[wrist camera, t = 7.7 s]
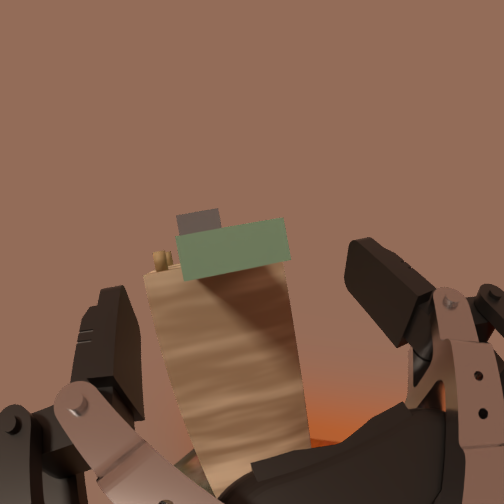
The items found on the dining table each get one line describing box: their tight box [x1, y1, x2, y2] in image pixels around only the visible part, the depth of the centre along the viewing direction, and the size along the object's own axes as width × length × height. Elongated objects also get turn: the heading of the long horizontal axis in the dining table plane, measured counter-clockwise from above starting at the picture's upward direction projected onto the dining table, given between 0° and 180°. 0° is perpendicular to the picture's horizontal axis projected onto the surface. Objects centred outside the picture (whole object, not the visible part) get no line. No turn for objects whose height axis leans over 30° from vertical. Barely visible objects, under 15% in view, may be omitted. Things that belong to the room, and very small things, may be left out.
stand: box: [143, 251, 311, 498], centre depth 28 cm, size 14×10×34 cm
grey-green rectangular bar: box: [176, 208, 291, 282], centre depth 21 cm, size 22×4×5 cm, turn 13°
